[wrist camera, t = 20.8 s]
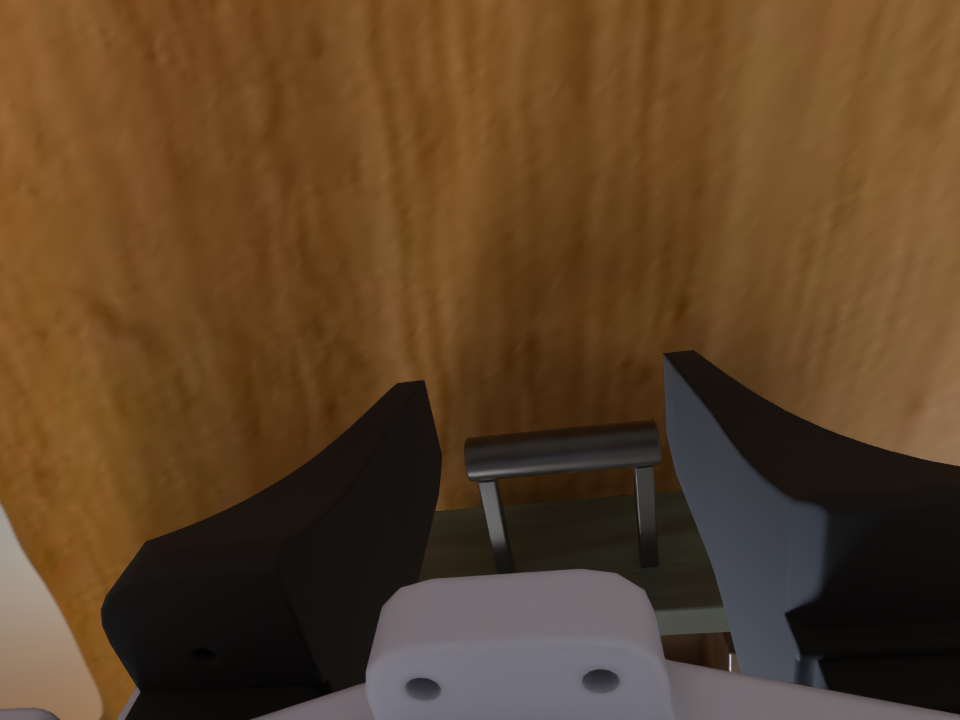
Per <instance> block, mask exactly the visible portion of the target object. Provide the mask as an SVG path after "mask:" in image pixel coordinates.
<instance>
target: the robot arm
mask: <svg viewBox="0 0 960 720" xmlns="http://www.w3.org/2000/svg"><path fill="white" fill-rule="evenodd" d="M663 360H664V384H665V408H666V432H667V438H668V442H669V447H670V451H671V455H672V459H673V463H674V467H675V471H676V474H677V477H678V480H679V482H680V485H681V487H682V490H683V492H684V495H685V498H686V500H687V503H688V505H689V508H690V510H691V513H692V515H693V518H694V520H695V523H696V525H697V528H698V530H699V533H700V535H701V538H702V540H703V543H704V545H705V548H706V550H707V553H708V555H709V558H710V561H711V564H712V567H713V570H714V573H715V576H716V580H717V583H718V587H719V591H720V594H721V598H722V602H723V605H724V609H725V613H726V616H727V620H728V624H729V628H730V632H731V636H732V640H733V643H734V647H735V651H736V655H737V659H738V663H739V667H740V671H741V674H740V673H735V672H730V671H724V670H719V669H714V668H708V667H703V666H697V665H692V664H687V663H681V662H676V661H671V660H667V659H665V657H664V653H663V648H662V643H661V638H660V633H659V628H658V624H657V619H656V614H655V612H654V610H653V607H652V605H651V603H650V601H649V599H648V597H647V594H646V592H645V590H643V589H642V588H640V587H639V586H637V585H635V584H634V583H632V582H630V581H629V580H627V579H625V578H624V577H622V576H620V575H619V574H617V573H611V572H603V571H595V570H587V569H570V570H556V571H541V572H527V573H512V574H497V575H483V576H468V577H454V578H439V579H430V580H426V581H423V582H419V583H418V581H419V576H420V572H421V568H422V564H423V559H424V555H425V551H426V547H427V543H428V538H429V534H430V530H431V526H432V522H433V517H434V513H435V509H436V504H437V500H438V495H439V487H440V477H441V464H442V453H441V449H440V445H439V440H438V436H437V432H436V428H435V423H434V419H433V415H432V411H431V406H430V402H429V398H428V394H427V390H426V385H425V381H424V380H421V381H412V382H403V383H397V384H396V385H395V386H393V387H392V388H391V389H390V390H389V391H388V392H387V393H386V394H385V395H384V396H383V397H381V398H380V399H379V400H378V401H377V402H376V403H375V404H374V405H373V406H372V407H371V408H370V409H369V410H368V411H367V412H366V413H365V414H364V415H363V416H362V417H360V418H359V419H358V420H357V421H356V422H355V423H354V424H353V425H352V426H351V427H350V428H349V429H347V430H346V431H345V432H344V433H343V434H342V435H340V436H339V437H338V438H337V439H336V440H335V441H333V442H332V443H331V444H330V445H329V446H327V447H326V448H325V449H324V450H323V451H321V452H320V453H319V454H318V455H316V456H315V457H314V458H312V459H311V460H310V461H308V462H307V463H305V464H304V465H303V466H301V467H300V468H298V469H297V470H295V471H294V472H292V473H291V474H289V475H288V476H286V477H285V478H283V479H282V480H280V481H278V482H276V483H275V484H273V485H271V486H269V487H268V488H266V489H264V490H263V491H261V492H259V493H257V494H256V495H254V496H252V497H250V498H249V499H247V500H245V501H243V502H241V503H239V504H237V505H235V506H233V507H231V508H229V509H227V510H224V511H222V512H220V513H218V514H216V515H213V516H211V517H209V518H207V519H204V520H202V521H200V522H197V523H195V524H192V525H190V526H187V527H184V528H182V529H179V530H176V531H174V532H171V533H168V534H166V535H163V536H160V537H158V538H155V539H152V540H149V541H146V542H145V543H144V545H143V546H142V547H141V549H140V550H139V551H138V553H137V554H136V556H135V557H134V558H133V560H132V561H131V562H130V564H129V565H128V567H127V568H126V569H125V571H124V572H123V573H122V575H121V576H120V578H119V579H118V580H117V582H116V583H115V584H114V586H113V587H112V589H111V590H110V591H109V593H108V594H107V595H106V597H105V600H104V603H103V606H102V608H101V618H102V626H103V628H104V631H105V633H106V635H107V637H108V640H109V642H110V644H111V646H112V647H113V649H114V650H115V652H116V654H117V655H118V657H119V659H120V660H121V662H122V663H123V665H124V667H125V668H126V670H127V671H128V673H129V675H130V676H131V678H132V679H133V681H134V683H135V684H136V688H135V690H134V691H133V693H132V695H131V697H130V698H129V700H128V702H127V703H126V705H125V707H124V709H123V710H122V712H121V714H120V715H119V717H118V719H117V720H960V466H955V465H949V464H944V463H939V462H933V461H928V460H924V459H920V458H916V457H912V456H908V455H904V454H900V453H896V452H892V451H889V450H885V449H882V448H879V447H875V446H872V445H869V444H866V443H863V442H860V441H857V440H854V439H851V438H848V437H846V436H843V435H840V434H837V433H835V432H832V431H830V430H827V429H824V428H822V427H820V426H818V425H815V424H813V423H811V422H809V421H807V420H804V419H802V418H800V417H798V416H796V415H794V414H792V413H790V412H788V411H786V410H784V409H782V408H780V407H778V406H777V405H775V404H773V403H771V402H770V401H768V400H766V399H764V398H763V397H761V396H759V395H758V394H756V393H754V392H753V391H751V390H750V389H748V388H746V387H745V386H743V385H742V384H740V383H739V382H737V381H736V380H734V379H733V378H732V377H730V376H729V375H727V374H726V373H724V372H723V371H722V370H720V369H719V368H717V367H716V366H715V365H713V364H712V363H711V362H709V361H708V360H707V359H705V358H704V357H703V356H701V355H700V354H698V353H697V352H695V351H694V350H689V351H680V352H671V353H663ZM0 720H60V719H59V718H57V717H56V715H54V714H53V713H51V712H49V711H47V710H44V709H39V708H16V709H0Z"/></svg>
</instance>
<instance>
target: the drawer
mask: <svg viewBox="0 0 960 720" xmlns="http://www.w3.org/2000/svg"><path fill="white" fill-rule="evenodd" d="M464 457H465V467H466V472H467V476H468V478H469V480H470V481H478V486H479V491H480V496H481V501H482V505H483V508H471V509H459V510H446V511H435V513H434V517H433V522H432V526H431V530H430V534H429V538H428V543H427V547H426V551H425V555H424V559H423V564H422V568H421V572H420V576H419V581H418V583H419V582H423V581H426V580H430V579H439V578H454V577H468V576H483V575H497V574H512V573H527V572H541V571H556V570H570V569H587V570H595V571H603V572H611V573H617V574H619V575H620V576H622V577H624V578H625V579H627V580H629V581H630V582H632V583H634V584H635V585H637V586H639V587H640V588H642V589H643V590H645V592H646V594H647V597H648V599H649V601H650V603H651V605H652V607H653V610H654V612H655V614H656V619H657V624H658V628H659V633H660V638H661V643H662V648H663V653H664V657H665V659H667V660H671V661H676V662H681V663H687V664H692V665H697V666H703V667H708V668H714V669H719V670H724V671H730V672H735V673H740V674H741V671H740V667H739V663H738V659H737V655H736V651H735V647H734V643H733V640H732V636H731V632H730V628H729V624H728V620H727V616H726V613H725V609H724V605H723V602H722V598H721V594H720V591H719V587H718V583H717V580H716V576H715V573H714V570H713V567H712V564H711V561H710V558H709V555H708V553H707V550H706V548H705V545H704V543H703V540H702V538H701V535H700V533H699V530H698V528H697V525H696V523H695V520H694V518H693V515H692V513H691V510H690V508H689V505H688V503H687V500H686V498H685V495H684V492H683V491H675V492H663V493H655V484H654V466H653V465H659V464H660V463H661V444H660V437H659V431H658V427H657V424H656V422H655V420H642V421H632V422H622V423H612V424H602V425H592V426H581V427H571V428H561V429H551V430H541V431H531V432H521V433H510V434H500V435H490V436H480V437H470V438H467V439H466V440H465V446H464ZM627 467H633V479H634V493H635V495H627V496H615V497H603V498H591V499H579V500H567V501H555V502H543V503H531V504H519V505H507V506H503V503H502V498H501V493H500V488H499V482H498V479H504V478H515V477H526V476H537V475H549V474H560V473H571V472H582V471H594V470H605V469H616V468H627Z"/></svg>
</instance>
